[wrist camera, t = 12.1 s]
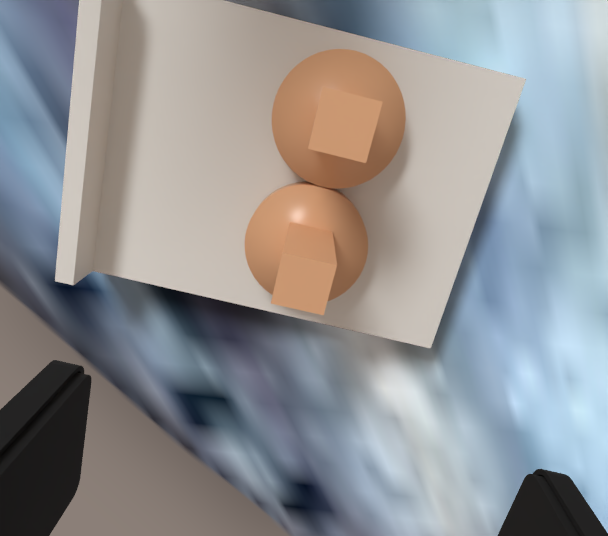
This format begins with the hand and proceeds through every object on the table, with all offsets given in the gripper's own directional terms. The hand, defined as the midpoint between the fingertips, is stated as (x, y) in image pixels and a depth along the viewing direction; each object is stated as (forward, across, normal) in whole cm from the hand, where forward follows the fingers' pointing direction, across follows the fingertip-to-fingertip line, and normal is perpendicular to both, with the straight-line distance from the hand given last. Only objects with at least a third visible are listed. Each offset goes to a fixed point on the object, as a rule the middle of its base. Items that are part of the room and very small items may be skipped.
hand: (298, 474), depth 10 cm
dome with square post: (+22, 0, 0) cm, 22 cm away
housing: (+22, +2, -3) cm, 22 cm away
